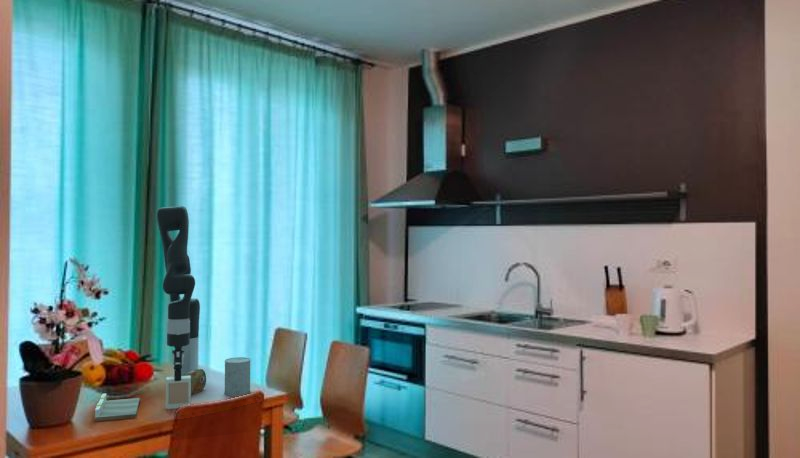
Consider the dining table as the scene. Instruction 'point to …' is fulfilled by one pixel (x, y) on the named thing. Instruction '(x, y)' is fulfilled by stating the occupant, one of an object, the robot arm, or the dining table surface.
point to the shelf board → (119, 409)
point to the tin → (197, 380)
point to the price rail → (100, 405)
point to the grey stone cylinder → (237, 376)
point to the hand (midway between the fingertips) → (177, 378)
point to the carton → (178, 392)
